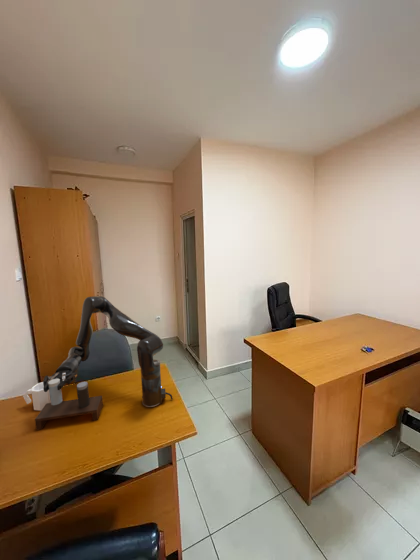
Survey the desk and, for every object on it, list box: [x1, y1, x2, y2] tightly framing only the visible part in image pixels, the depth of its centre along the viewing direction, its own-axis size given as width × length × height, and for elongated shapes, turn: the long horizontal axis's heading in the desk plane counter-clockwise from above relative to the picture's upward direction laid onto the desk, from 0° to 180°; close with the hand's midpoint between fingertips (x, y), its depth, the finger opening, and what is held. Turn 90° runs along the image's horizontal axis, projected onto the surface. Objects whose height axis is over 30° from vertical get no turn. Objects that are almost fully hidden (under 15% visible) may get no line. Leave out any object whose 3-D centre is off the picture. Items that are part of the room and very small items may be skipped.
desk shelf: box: [34, 395, 104, 431], centre depth 102 cm, size 24×10×5 cm, turn 102°
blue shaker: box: [48, 379, 64, 405], centre depth 99 cm, size 4×4×10 cm
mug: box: [22, 381, 51, 412], centre depth 109 cm, size 12×9×10 cm
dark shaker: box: [76, 381, 90, 408], centre depth 102 cm, size 4×4×10 cm
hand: (51, 389), depth 96 cm, fingers closed on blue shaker, 4 cm apart
